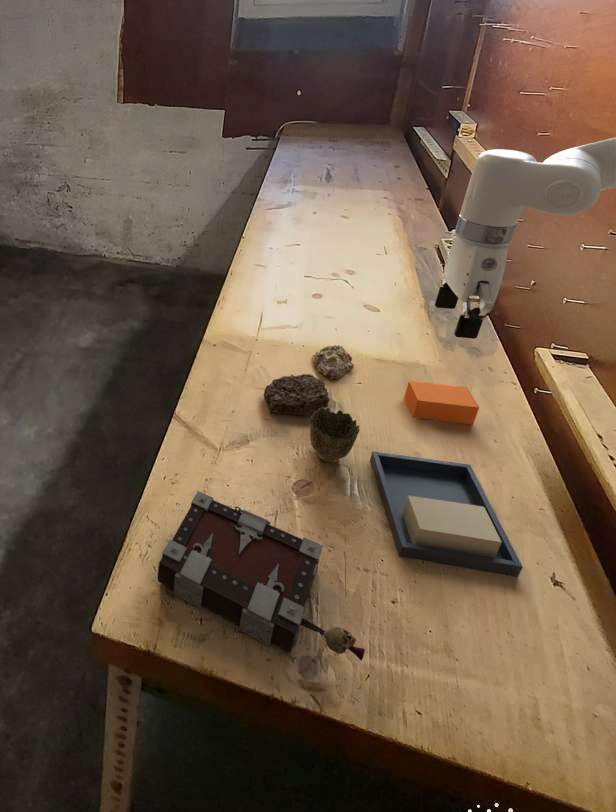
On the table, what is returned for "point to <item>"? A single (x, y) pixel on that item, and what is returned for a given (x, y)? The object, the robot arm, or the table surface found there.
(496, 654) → the table surface
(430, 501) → the beige block
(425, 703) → the table surface
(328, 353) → the mineral rock
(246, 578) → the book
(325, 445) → the cup
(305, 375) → the dark brown rough stone
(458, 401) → the orange rectangular block
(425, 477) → the tray
